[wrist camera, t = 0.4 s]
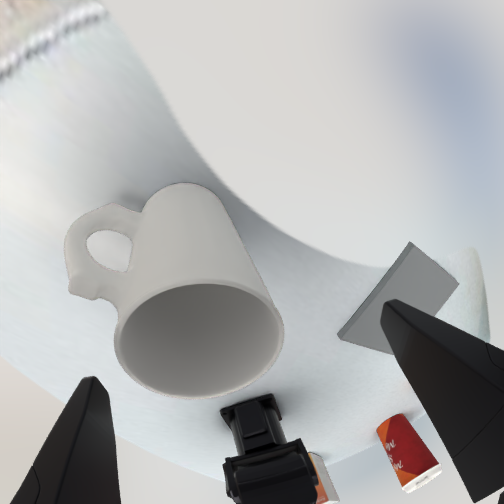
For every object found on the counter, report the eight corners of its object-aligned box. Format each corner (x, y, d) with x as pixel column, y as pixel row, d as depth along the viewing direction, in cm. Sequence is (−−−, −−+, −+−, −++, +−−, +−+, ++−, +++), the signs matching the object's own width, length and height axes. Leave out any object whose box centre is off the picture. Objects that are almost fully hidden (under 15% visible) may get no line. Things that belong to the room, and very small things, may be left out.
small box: (310, 450, 47) (330, 500, 38) (321, 456, 50) (341, 501, 41) (271, 469, 47) (287, 517, 38) (285, 473, 50) (301, 517, 41)
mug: (248, 205, 23) (317, 314, 12) (202, 278, 25) (231, 410, 14) (118, 139, 18) (59, 204, 8) (81, 226, 20) (24, 349, 10)
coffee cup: (366, 430, 48) (400, 495, 36) (404, 405, 47) (443, 467, 35) (377, 438, 53) (408, 494, 40) (411, 415, 52) (445, 470, 39)
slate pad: (455, 280, 33) (459, 283, 33) (396, 352, 37) (399, 356, 36) (409, 241, 28) (414, 245, 27) (337, 334, 32) (340, 339, 31)
